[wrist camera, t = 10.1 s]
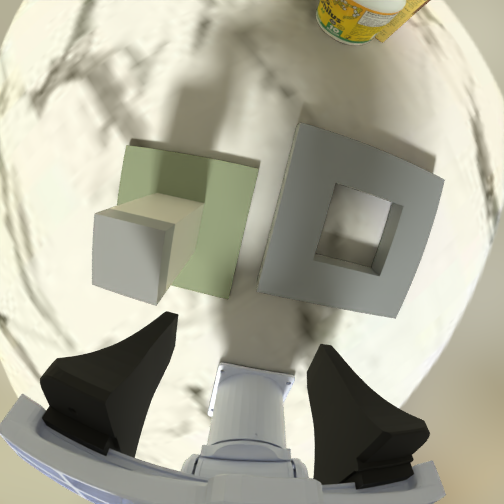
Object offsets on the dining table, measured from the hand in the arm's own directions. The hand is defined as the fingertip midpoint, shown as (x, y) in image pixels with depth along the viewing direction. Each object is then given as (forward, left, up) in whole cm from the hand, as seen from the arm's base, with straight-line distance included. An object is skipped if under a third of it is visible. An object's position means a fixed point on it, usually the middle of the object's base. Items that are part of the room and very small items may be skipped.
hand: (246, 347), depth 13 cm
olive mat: (+3, +7, -10) cm, 13 cm away
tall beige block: (+3, +7, -10) cm, 12 cm away
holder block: (+6, -7, -10) cm, 14 cm away
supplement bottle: (+23, -3, -11) cm, 26 cm away
